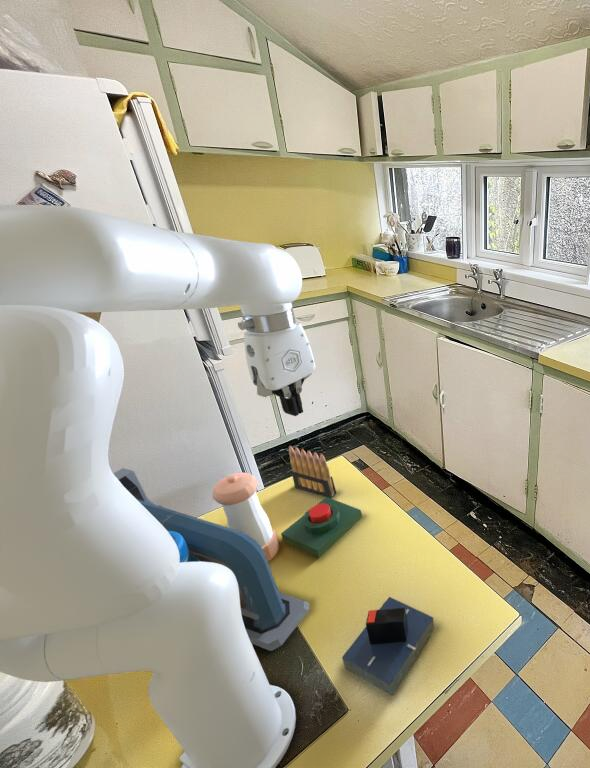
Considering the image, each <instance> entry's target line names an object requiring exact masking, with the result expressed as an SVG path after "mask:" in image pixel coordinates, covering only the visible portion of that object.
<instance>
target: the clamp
mask: <svg viewBox="0 0 590 768" xmlns="http://www.w3.org/2000/svg"><path fill="white" fill-rule="evenodd" d="M112 473H113V474H114V475H115V477H116V478H117V479H118V480H119V481H120V483H121V484H122V485H123V486H124V487H125V488H126V489H127V490H128V491H129V492H130V493H131V494H132V495H133V496H134V497H135V498H136V499H137V500H138V501H139V502H140V503H141V504H142V505H143V506H144V507H145V508H146V509H147V510H148V511H149V512H150V513H151V514H152V515H153V516H154V517H155V518H156V519H157V520H158V521H159V522H160V523H161V524H162V526H163V527H164V528H165V529H166V530H167V531H174V532H177V533H179V534H180V535H181V536H182V537H183V538H184V540H185V543H186V545H187V547H188V550H189V554H190V555H193V556H195V557H196V558H198V559H199V560H200V561H201V562H212V563H218V564H221V565H223V566H226V567H227V568H229V569H230V570H231V571H232V572H233V573H234V575H235V577H236V580H237V583H238V588H239V597H240V608H241V615H242V619H243V623H244V626H245V629H246V632H247V634H248V637H249V639H250V641H251V644H252V645H254V646H256V647H260V648H261V649H265V650H267V651H269V652H272V651H275V650H276V649H278V648H280V647H281V646H282V647H283V645H284V643H285V642H286V641H287V639H288V638H289V637H290V636H291V634H292V633H293V632H294V631H295V629H296V628H297V627H298V626H299V624H300V622H302V621H303V619H304V618H305V617H306V616H307V614H308V613H309V612H310V604H311V603H309V602H308V601H306V600H304V599H300V598H298V597H294V596H292V595H288V594H286V593H283V592H281V591H280V590H279V589H278V587H277V584H276V581H275V578H274V576H273V572H272V569H271V567H270V564H269V561H268V562H267V559H266V556H265V554H264V552H263V550H262V548H261V546H260V545H259V544H258V543H257V542H256V541H255V540H254V539H253V538H251V537H250V536H249V535H247V534H245V533H243V532H240V531H237V530H234V529H231V528H228V526H224V525H222V524H218V523H214V522H211V521H208V520H205V519H201V518H198V517H195V516H193V515H189V514H186V513H183V512H179V511H176V510H173V509H170V508H166V507H163V506H162V505H160V504H158V505H157V504H156V503H155V502H154V501H153V500H151V499H150V498H149V497H148V495H147V493H146V491H145V490H144V487H143V486H142V483H141V482H140V480H139V478H138V475H137V473H136V471H135V470H132V469H128V468H125V467H122V468H120V469H119V470H116V471H115V472H112Z"/></svg>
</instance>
